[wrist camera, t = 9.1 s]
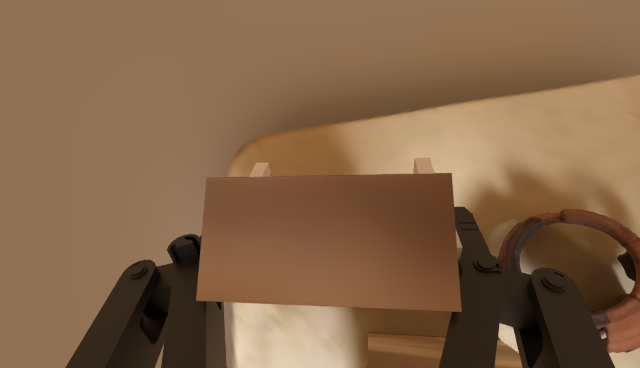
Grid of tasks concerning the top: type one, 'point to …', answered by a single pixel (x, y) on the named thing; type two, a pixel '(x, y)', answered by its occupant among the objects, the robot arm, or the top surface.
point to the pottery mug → (636, 308)
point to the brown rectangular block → (331, 241)
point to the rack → (423, 352)
